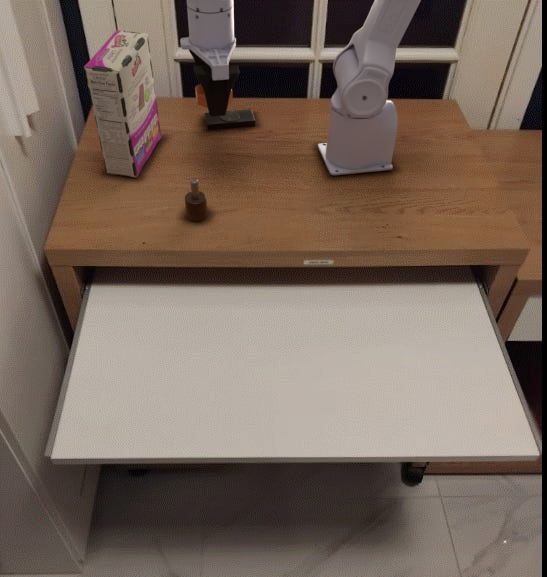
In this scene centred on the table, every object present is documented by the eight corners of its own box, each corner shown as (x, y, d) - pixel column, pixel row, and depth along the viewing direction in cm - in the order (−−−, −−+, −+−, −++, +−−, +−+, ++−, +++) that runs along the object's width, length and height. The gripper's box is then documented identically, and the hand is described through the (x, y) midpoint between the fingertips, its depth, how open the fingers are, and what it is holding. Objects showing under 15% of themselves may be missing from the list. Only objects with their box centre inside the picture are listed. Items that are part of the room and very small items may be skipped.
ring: (228, 89, 90) (228, 79, 88) (234, 106, 86) (234, 96, 85) (194, 92, 89) (193, 81, 88) (199, 109, 85) (198, 99, 84)
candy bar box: (131, 133, 99) (115, 28, 87) (162, 138, 98) (150, 32, 86) (103, 174, 91) (81, 65, 79) (136, 179, 90) (120, 69, 79)
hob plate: (251, 114, 104) (251, 108, 103) (255, 125, 101) (255, 119, 100) (204, 118, 102) (204, 112, 102) (207, 129, 100) (207, 123, 99)
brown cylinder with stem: (205, 207, 86) (203, 173, 82) (208, 220, 84) (206, 185, 80) (185, 209, 86) (182, 175, 82) (187, 222, 84) (184, 188, 80)
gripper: (171, -16, 83) (179, 81, 92) (184, 31, 73) (192, 135, 82) (225, -19, 84) (228, 78, 94) (245, 27, 74) (245, 130, 84)
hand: (214, 104), depth 88 cm, fingers closed on ring, 5 cm apart
